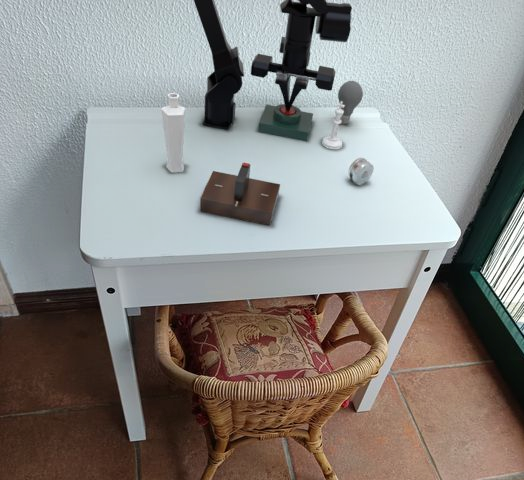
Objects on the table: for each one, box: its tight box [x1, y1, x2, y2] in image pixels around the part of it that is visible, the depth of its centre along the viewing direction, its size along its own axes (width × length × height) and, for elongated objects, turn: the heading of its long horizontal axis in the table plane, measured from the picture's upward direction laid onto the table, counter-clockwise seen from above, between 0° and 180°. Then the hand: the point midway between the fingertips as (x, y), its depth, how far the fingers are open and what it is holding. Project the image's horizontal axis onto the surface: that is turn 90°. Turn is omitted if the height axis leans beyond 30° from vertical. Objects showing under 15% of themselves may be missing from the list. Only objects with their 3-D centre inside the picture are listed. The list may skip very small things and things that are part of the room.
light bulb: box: [337, 80, 364, 125], centre depth 121 cm, size 6×6×10 cm
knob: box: [234, 161, 251, 201], centre depth 94 cm, size 6×2×4 cm, turn 169°
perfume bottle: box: [161, 92, 186, 174], centre depth 98 cm, size 5×4×15 cm
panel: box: [199, 170, 281, 226], centre depth 97 cm, size 14×11×3 cm
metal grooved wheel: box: [347, 157, 374, 186], centre depth 106 cm, size 5×3×5 cm, turn 123°
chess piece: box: [321, 102, 345, 150], centre depth 113 cm, size 5×5×10 cm
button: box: [280, 107, 295, 115], centre depth 118 cm, size 4×4×2 cm
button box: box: [257, 103, 314, 142], centre depth 119 cm, size 12×10×4 cm
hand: (287, 109), depth 117 cm, fingers closed, pressing on button
